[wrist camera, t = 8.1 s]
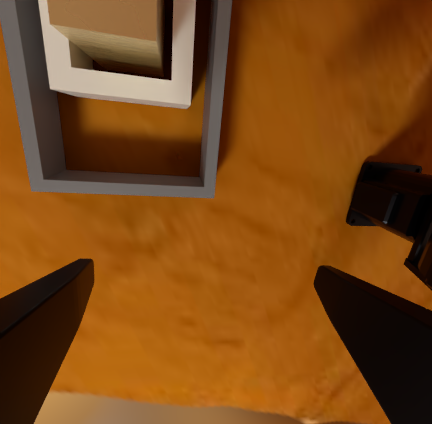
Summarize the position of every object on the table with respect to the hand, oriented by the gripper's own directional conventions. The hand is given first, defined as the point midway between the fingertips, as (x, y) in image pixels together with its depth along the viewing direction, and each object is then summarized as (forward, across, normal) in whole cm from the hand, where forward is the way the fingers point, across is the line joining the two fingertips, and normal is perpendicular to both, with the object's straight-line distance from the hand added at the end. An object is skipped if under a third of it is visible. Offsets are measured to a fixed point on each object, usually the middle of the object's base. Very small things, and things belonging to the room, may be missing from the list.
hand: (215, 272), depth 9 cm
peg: (+12, +5, -10) cm, 17 cm away
